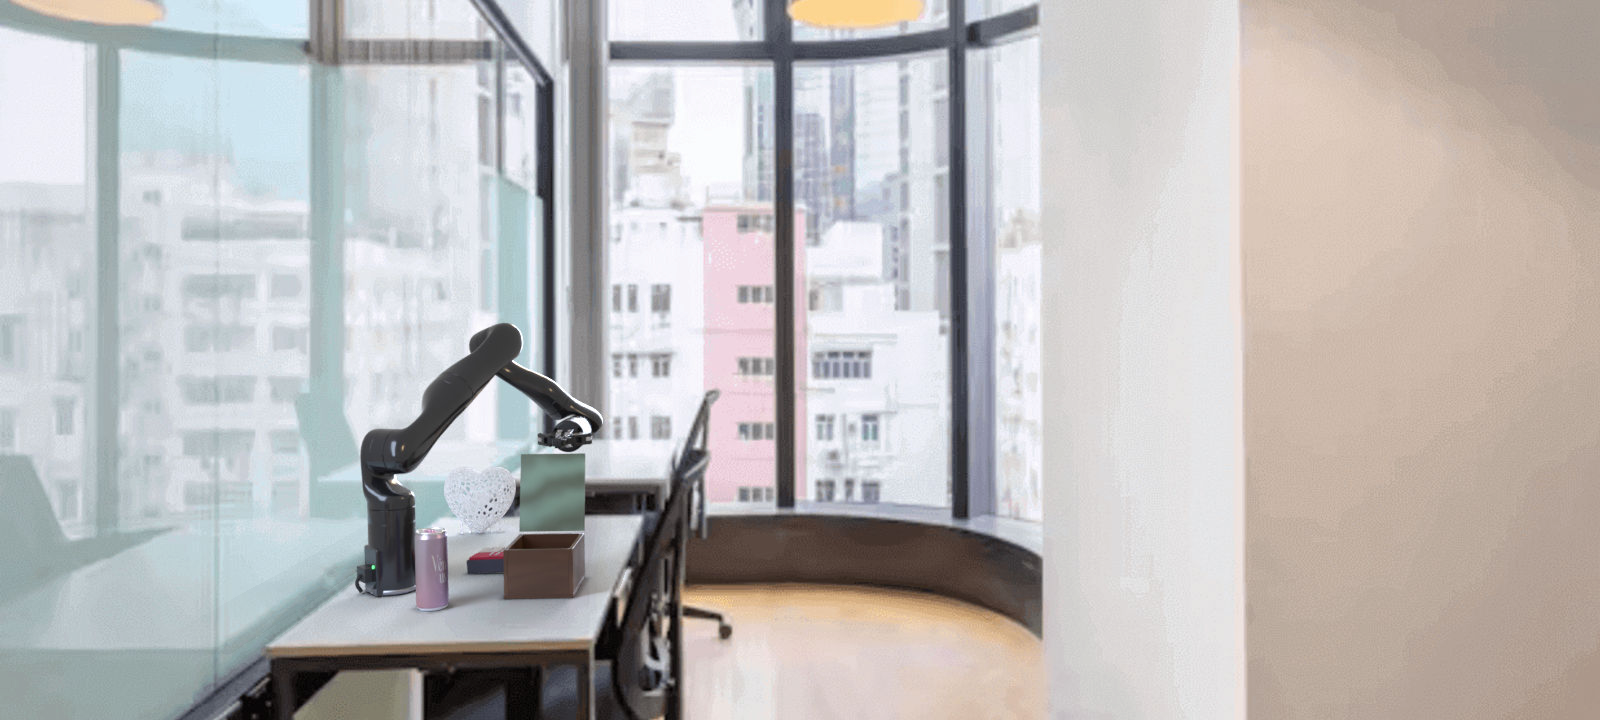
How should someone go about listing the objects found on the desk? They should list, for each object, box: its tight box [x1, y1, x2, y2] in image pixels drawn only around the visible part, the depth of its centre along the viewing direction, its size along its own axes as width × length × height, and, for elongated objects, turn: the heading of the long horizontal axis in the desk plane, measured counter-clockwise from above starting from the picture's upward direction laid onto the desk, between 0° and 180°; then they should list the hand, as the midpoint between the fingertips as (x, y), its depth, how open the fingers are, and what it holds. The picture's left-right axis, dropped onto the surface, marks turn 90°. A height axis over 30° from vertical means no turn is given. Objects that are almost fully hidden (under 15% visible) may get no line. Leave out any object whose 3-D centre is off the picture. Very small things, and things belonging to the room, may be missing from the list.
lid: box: [518, 452, 586, 533], centre depth 229 cm, size 16×14×1 cm
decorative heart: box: [443, 466, 517, 535], centre depth 275 cm, size 18×11×17 cm, turn 94°
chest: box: [503, 532, 586, 600], centre depth 220 cm, size 16×14×10 cm
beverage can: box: [415, 527, 450, 612], centre depth 206 cm, size 6×6×15 cm
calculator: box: [466, 546, 506, 575], centre depth 237 cm, size 11×4×15 cm
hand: (558, 443), depth 236 cm, fingers closed
